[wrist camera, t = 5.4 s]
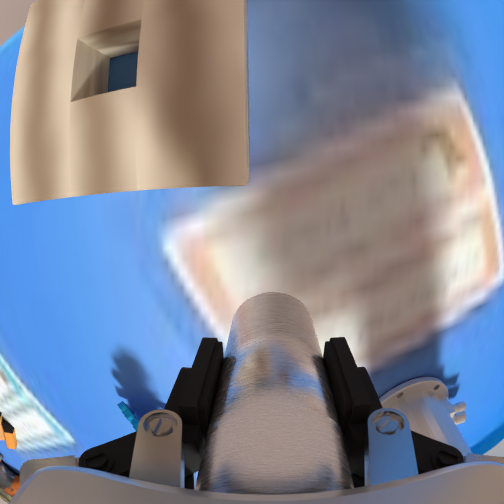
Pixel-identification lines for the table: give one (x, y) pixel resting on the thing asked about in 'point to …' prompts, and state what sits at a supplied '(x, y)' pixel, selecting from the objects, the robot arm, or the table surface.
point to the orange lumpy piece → (8, 479)
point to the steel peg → (273, 408)
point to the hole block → (130, 98)
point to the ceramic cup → (5, 496)
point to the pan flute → (7, 433)
